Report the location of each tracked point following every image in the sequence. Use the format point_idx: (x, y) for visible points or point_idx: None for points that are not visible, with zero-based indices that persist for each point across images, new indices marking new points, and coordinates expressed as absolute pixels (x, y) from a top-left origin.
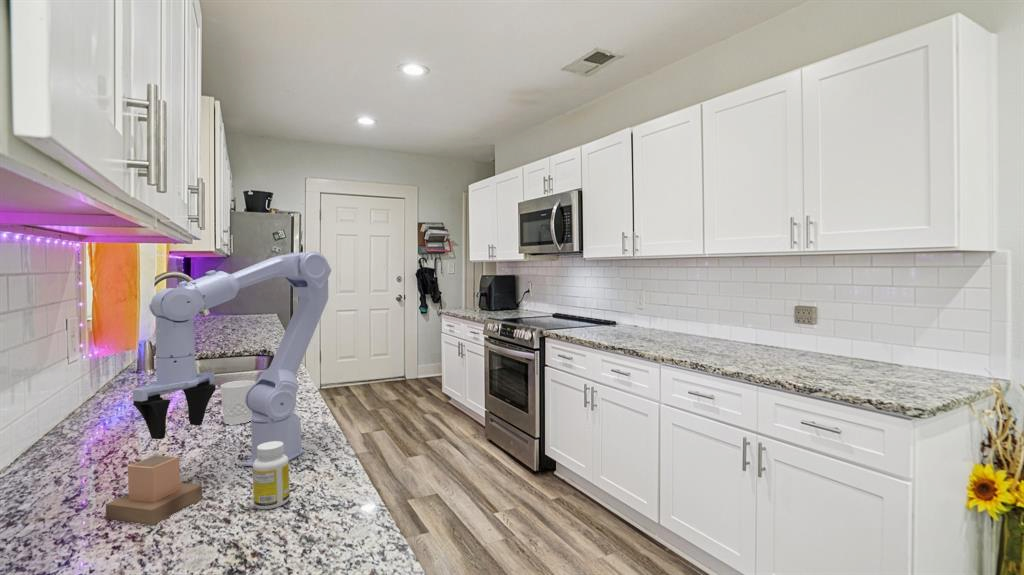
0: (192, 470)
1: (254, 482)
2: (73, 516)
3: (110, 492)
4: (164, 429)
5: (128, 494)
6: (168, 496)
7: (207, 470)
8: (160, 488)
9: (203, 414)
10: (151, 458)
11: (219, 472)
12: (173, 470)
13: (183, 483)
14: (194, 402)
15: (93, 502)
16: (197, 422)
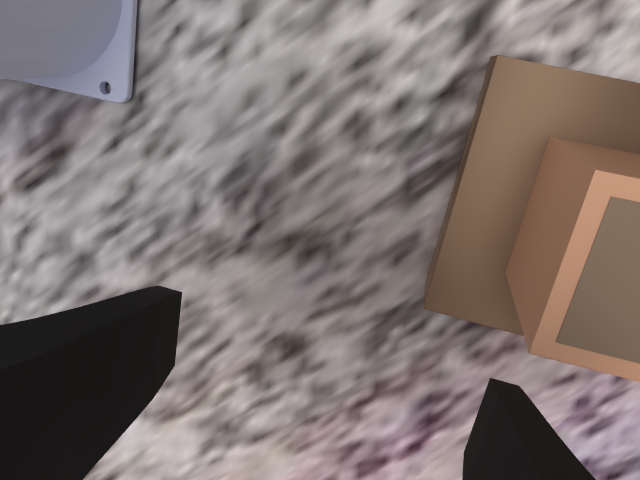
0: (197, 291)
1: None
2: (605, 467)
3: (404, 464)
4: (522, 413)
5: None
6: (635, 142)
7: (191, 230)
8: None
9: (110, 304)
10: (603, 339)
11: (205, 163)
12: (622, 165)
13: (469, 169)
14: (47, 453)
15: None
16: (170, 315)
